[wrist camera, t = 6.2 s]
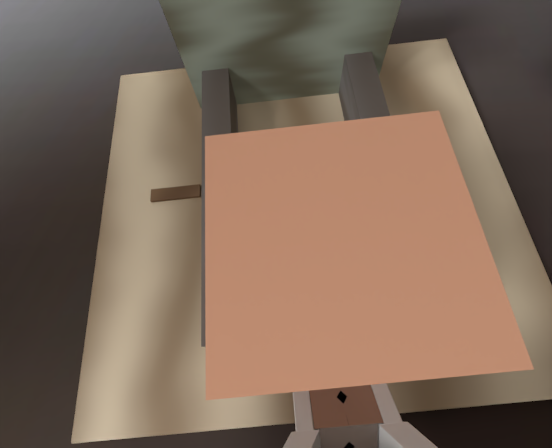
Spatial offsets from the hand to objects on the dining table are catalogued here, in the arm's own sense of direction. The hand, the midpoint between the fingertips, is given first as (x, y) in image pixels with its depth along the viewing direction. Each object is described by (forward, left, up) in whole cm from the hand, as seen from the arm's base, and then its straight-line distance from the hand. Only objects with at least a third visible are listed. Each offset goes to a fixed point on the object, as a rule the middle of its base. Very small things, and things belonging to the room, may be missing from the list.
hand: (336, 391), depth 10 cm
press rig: (0, +10, -6) cm, 11 cm away
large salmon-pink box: (0, +4, -5) cm, 6 cm away
